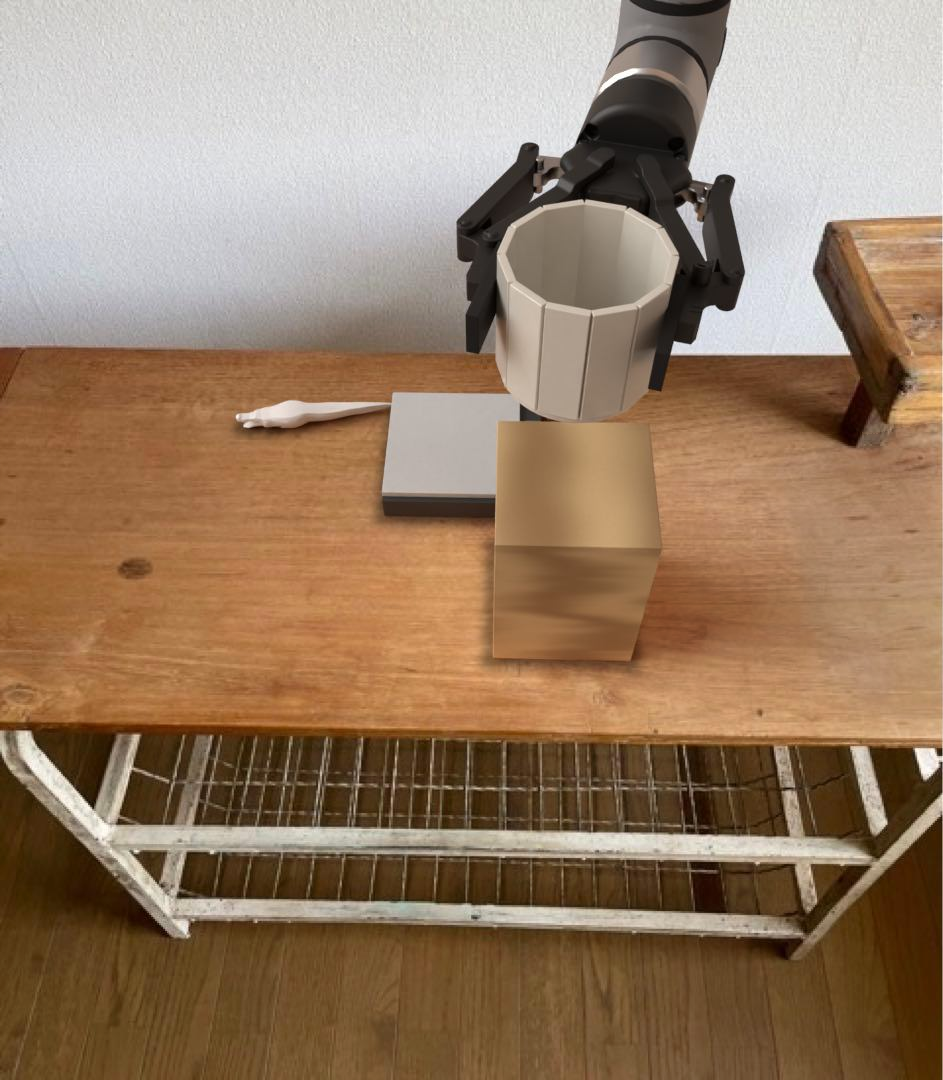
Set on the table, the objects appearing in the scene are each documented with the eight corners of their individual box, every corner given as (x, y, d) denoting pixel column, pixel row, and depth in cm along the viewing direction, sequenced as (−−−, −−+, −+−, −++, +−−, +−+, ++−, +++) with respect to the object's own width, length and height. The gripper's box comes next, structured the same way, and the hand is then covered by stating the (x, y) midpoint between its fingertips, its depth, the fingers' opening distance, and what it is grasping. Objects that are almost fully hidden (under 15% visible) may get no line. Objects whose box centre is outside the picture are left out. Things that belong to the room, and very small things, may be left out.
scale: (539, 410, 88) (541, 390, 86) (541, 518, 81) (542, 499, 79) (395, 408, 89) (393, 388, 87) (384, 516, 81) (381, 496, 79)
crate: (622, 547, 79) (649, 422, 66) (630, 661, 73) (662, 548, 60) (495, 545, 79) (497, 420, 66) (492, 658, 73) (494, 545, 60)
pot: (665, 331, 58) (690, 216, 51) (637, 441, 53) (660, 329, 46) (520, 303, 60) (525, 188, 53) (478, 406, 55) (478, 294, 48)
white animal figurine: (238, 437, 87) (234, 423, 85) (239, 416, 88) (234, 403, 87) (395, 420, 88) (394, 406, 86) (393, 400, 89) (391, 386, 88)
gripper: (793, 205, 63) (754, 442, 51) (482, 154, 67) (376, 363, 54) (827, 99, 57) (792, 341, 44) (482, 50, 60) (363, 259, 48)
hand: (563, 353), depth 49 cm, fingers closed on pot, 10 cm apart
